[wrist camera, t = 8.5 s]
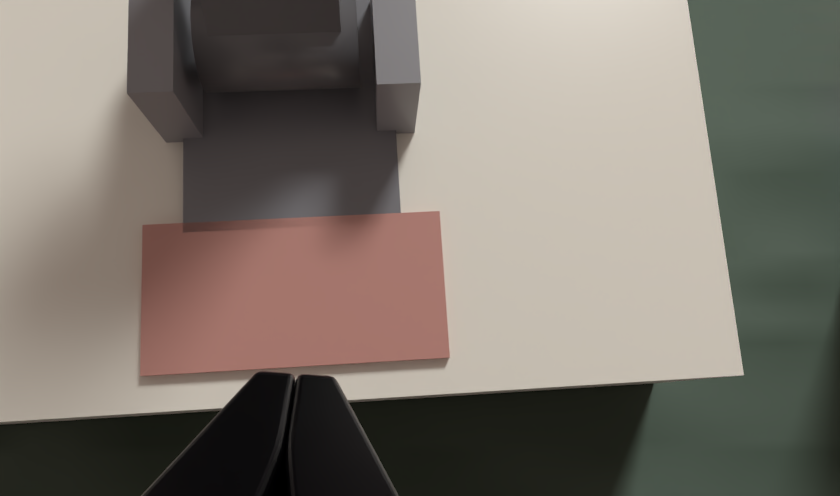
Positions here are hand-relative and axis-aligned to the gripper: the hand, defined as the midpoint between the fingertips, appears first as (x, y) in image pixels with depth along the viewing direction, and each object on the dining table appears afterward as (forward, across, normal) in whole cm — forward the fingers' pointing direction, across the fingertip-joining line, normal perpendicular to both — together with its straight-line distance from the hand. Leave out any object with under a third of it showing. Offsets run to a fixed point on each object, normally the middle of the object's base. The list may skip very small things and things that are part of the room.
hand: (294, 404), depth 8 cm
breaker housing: (+13, +1, +2) cm, 14 cm away
